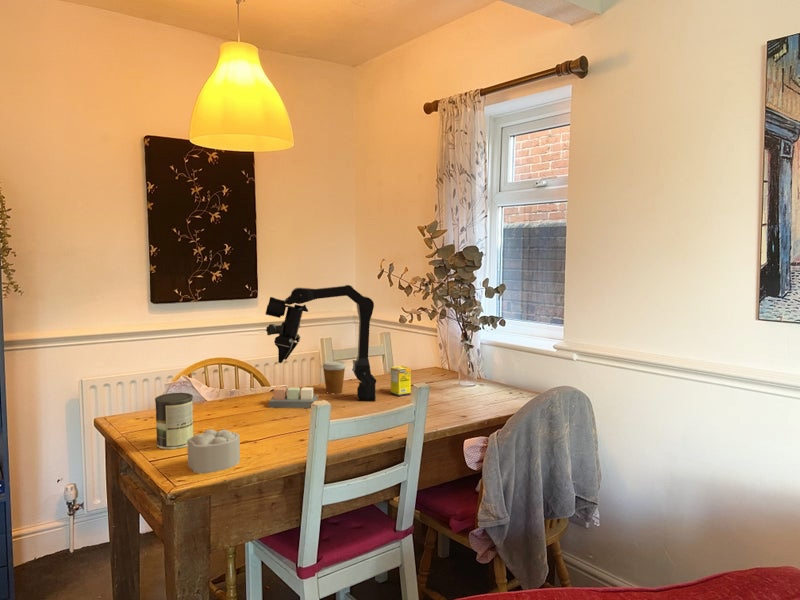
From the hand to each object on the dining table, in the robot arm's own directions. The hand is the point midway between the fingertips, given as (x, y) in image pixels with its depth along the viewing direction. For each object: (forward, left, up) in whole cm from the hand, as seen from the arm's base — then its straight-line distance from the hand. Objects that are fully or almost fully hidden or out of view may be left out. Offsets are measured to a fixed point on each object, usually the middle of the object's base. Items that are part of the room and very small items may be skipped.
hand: (282, 361), depth 211 cm
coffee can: (+23, +45, -16) cm, 53 cm away
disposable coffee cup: (-17, -18, -16) cm, 30 cm away
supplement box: (-44, -15, -16) cm, 49 cm away
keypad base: (-4, +1, -16) cm, 17 cm away
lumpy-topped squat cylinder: (+6, +61, -16) cm, 64 cm away
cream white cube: (-9, +1, -14) cm, 17 cm away
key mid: (-4, +1, -14) cm, 15 cm away
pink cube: (+1, +1, -14) cm, 14 cm away
